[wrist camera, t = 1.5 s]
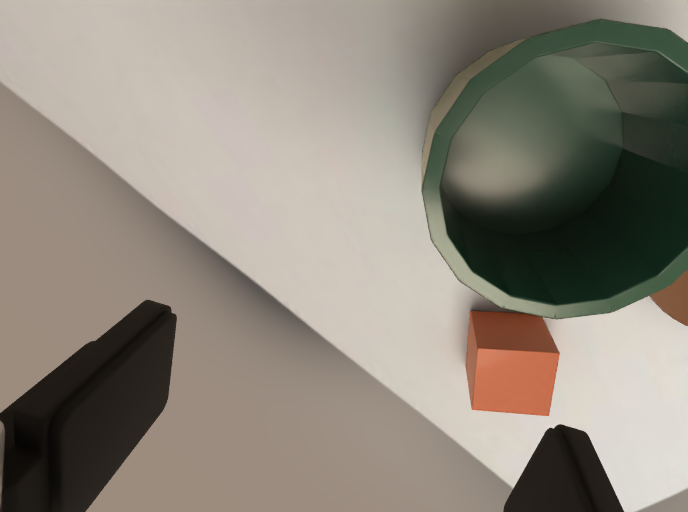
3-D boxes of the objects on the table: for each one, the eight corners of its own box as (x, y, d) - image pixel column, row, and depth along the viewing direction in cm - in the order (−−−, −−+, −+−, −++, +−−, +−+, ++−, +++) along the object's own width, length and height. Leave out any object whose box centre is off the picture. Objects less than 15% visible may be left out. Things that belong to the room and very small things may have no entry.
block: (541, 313, 33) (559, 353, 28) (532, 371, 35) (548, 416, 30) (470, 310, 34) (477, 348, 29) (465, 366, 35) (471, 410, 31)
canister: (631, 12, 25) (758, -24, 16) (636, 223, 29) (738, 297, 20) (407, 71, 28) (399, 71, 19) (441, 255, 32) (448, 333, 23)
